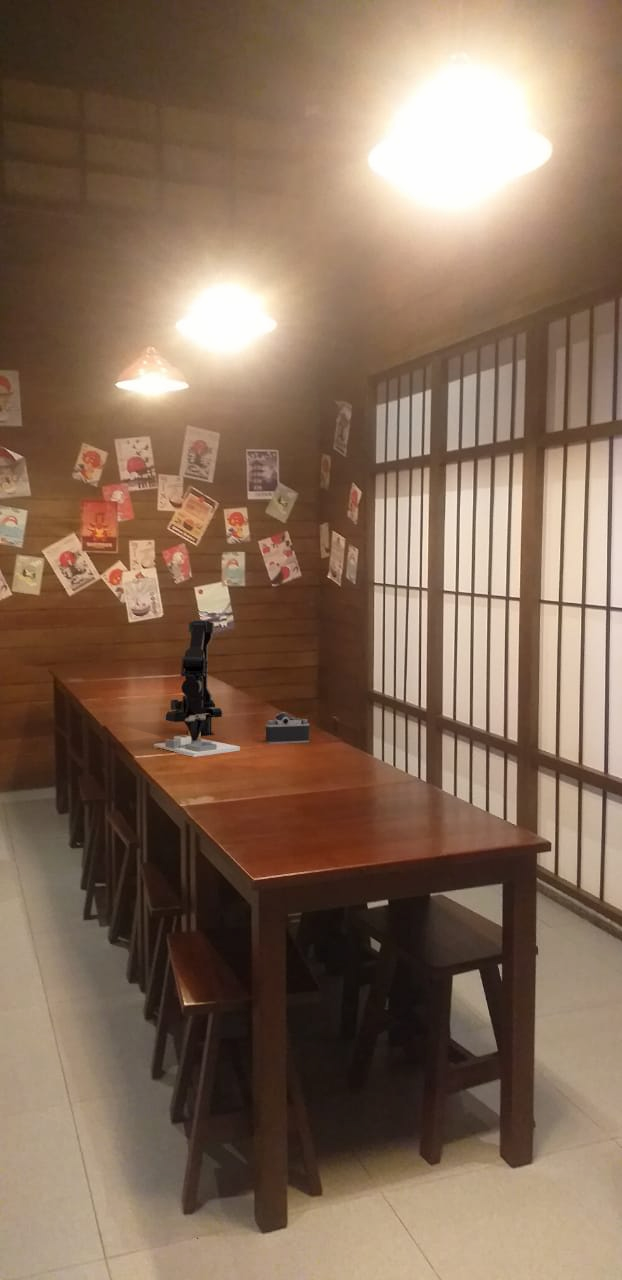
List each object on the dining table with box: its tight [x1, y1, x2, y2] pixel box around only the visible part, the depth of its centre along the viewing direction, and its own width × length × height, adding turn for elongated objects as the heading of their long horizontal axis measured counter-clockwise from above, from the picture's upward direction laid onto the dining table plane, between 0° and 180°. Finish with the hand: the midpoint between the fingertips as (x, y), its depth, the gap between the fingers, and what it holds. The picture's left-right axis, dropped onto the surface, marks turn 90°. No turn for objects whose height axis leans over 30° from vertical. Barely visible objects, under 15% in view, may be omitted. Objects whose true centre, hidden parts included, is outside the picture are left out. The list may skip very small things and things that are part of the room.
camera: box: [264, 711, 310, 744], centre depth 333 cm, size 16×8×10 cm, turn 104°
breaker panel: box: [153, 738, 241, 758], centre depth 316 cm, size 18×22×4 cm
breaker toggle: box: [173, 734, 191, 747], centre depth 315 cm, size 4×4×3 cm
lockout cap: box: [188, 731, 202, 740], centre depth 325 cm, size 5×5×6 cm
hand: (194, 740), depth 318 cm, fingers closed
